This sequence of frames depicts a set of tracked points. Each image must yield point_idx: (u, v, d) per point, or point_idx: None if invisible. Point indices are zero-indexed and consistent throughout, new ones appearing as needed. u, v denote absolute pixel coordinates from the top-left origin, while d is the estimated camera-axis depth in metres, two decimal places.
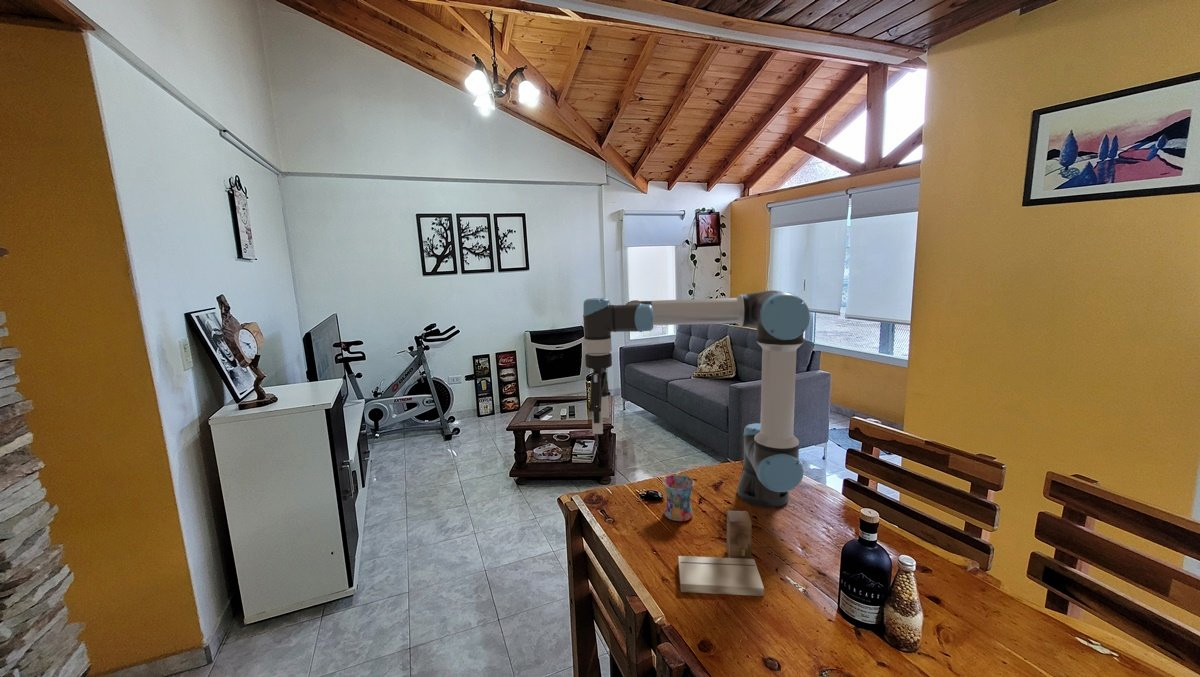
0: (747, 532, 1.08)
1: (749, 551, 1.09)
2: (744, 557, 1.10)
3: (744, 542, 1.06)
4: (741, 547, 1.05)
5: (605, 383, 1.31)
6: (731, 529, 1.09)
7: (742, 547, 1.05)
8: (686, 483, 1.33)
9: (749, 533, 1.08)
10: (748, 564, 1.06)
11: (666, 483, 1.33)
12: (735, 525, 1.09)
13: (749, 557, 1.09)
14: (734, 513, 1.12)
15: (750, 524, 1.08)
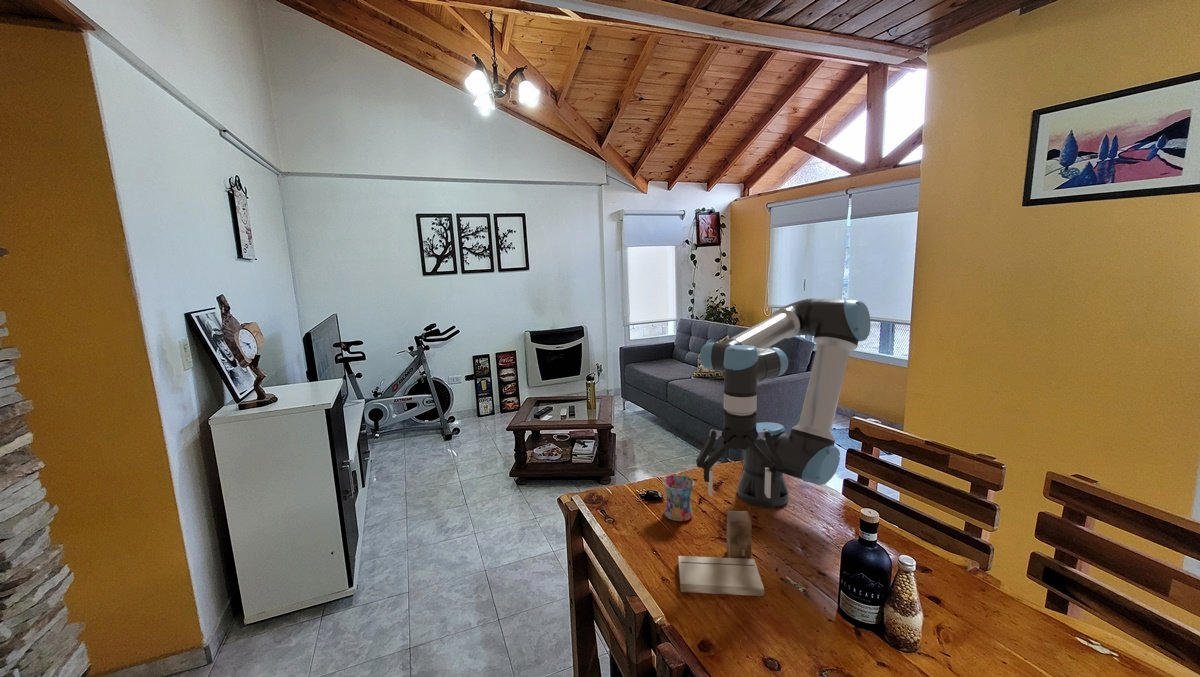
0: (747, 532, 1.08)
1: (749, 551, 1.09)
2: (744, 557, 1.10)
3: (744, 542, 1.06)
4: (741, 547, 1.05)
5: (754, 451, 1.06)
6: (731, 529, 1.09)
7: (742, 547, 1.05)
8: (686, 483, 1.33)
9: (749, 533, 1.08)
10: (748, 564, 1.06)
11: (666, 483, 1.33)
12: (735, 525, 1.09)
13: (749, 557, 1.09)
14: (734, 513, 1.12)
15: (750, 524, 1.08)
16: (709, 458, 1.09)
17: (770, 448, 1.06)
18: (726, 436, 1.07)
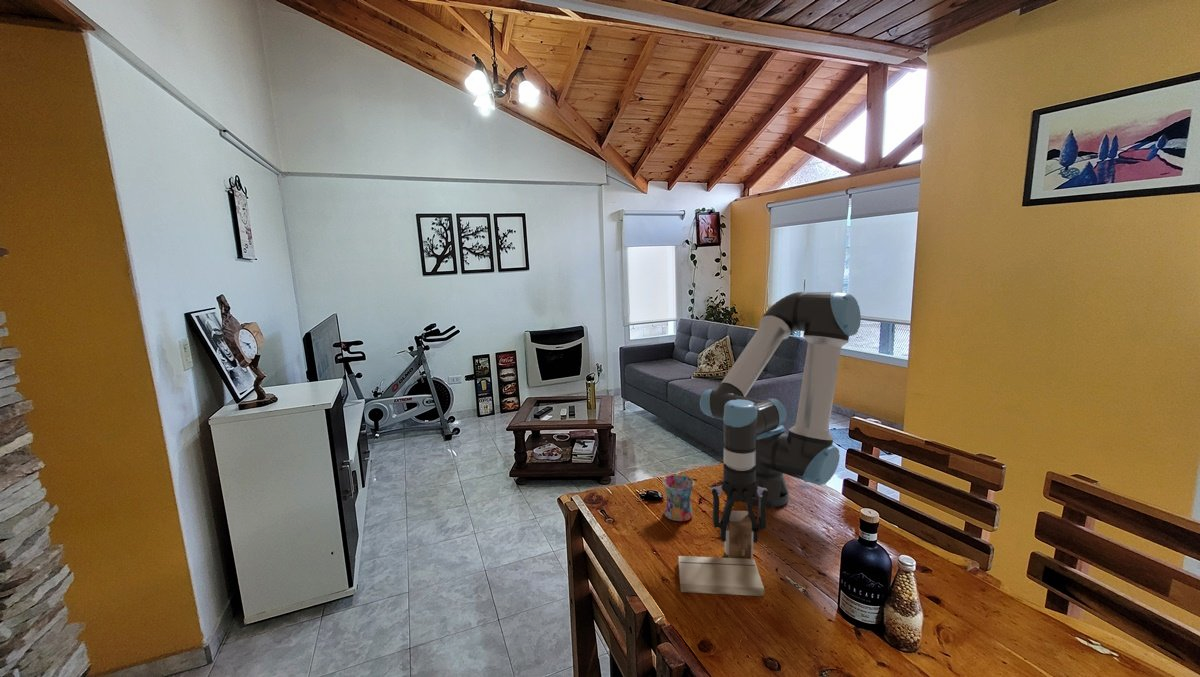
0: (747, 532, 1.08)
1: (749, 551, 1.09)
2: (744, 557, 1.09)
3: (744, 542, 1.06)
4: (741, 547, 1.05)
5: (747, 506, 1.09)
6: (731, 529, 1.09)
7: (742, 547, 1.05)
8: (686, 483, 1.33)
9: (749, 533, 1.08)
10: (748, 564, 1.06)
11: (666, 483, 1.33)
12: (735, 525, 1.09)
13: (749, 557, 1.09)
14: (734, 512, 1.12)
15: (750, 524, 1.08)
16: (722, 517, 1.11)
17: (762, 506, 1.08)
18: (727, 489, 1.09)
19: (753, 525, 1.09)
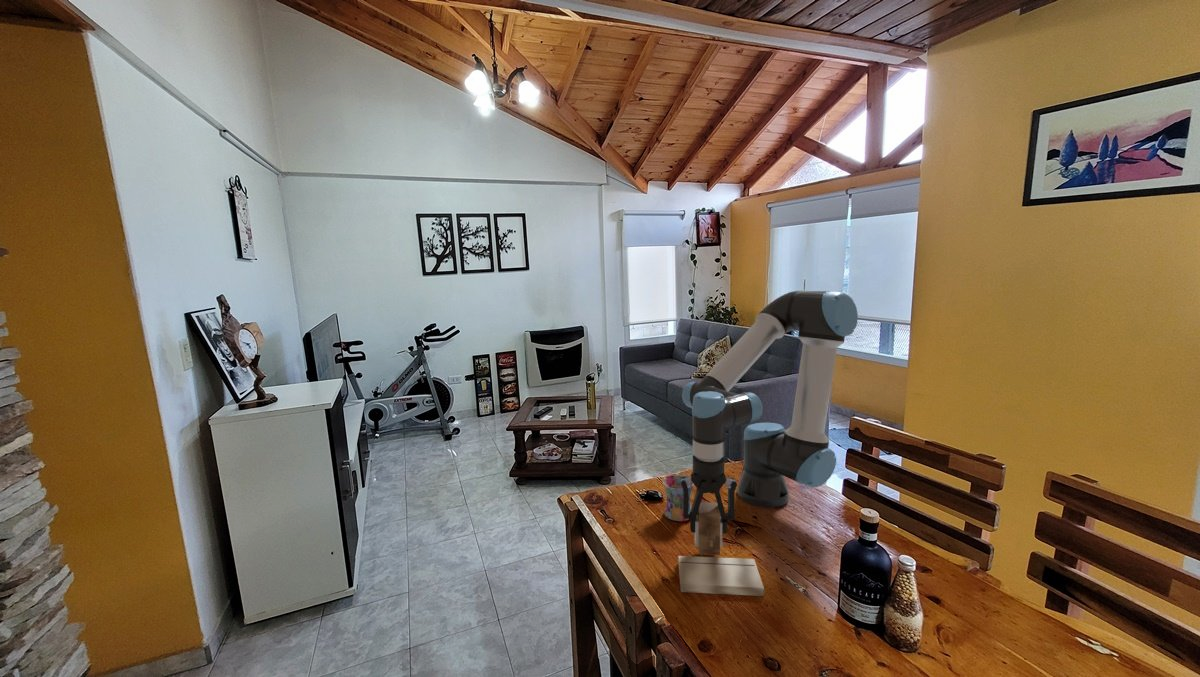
0: (715, 523, 1.09)
1: (718, 542, 1.10)
2: (713, 548, 1.10)
3: (712, 533, 1.06)
4: (709, 538, 1.05)
5: None
6: (700, 520, 1.09)
7: (710, 538, 1.05)
8: None
9: (718, 524, 1.09)
10: (748, 564, 1.06)
11: (666, 483, 1.33)
12: (704, 516, 1.09)
13: (718, 548, 1.10)
14: (704, 504, 1.13)
15: (719, 515, 1.09)
16: (692, 508, 1.12)
17: (730, 497, 1.09)
18: (696, 481, 1.09)
19: (722, 516, 1.10)
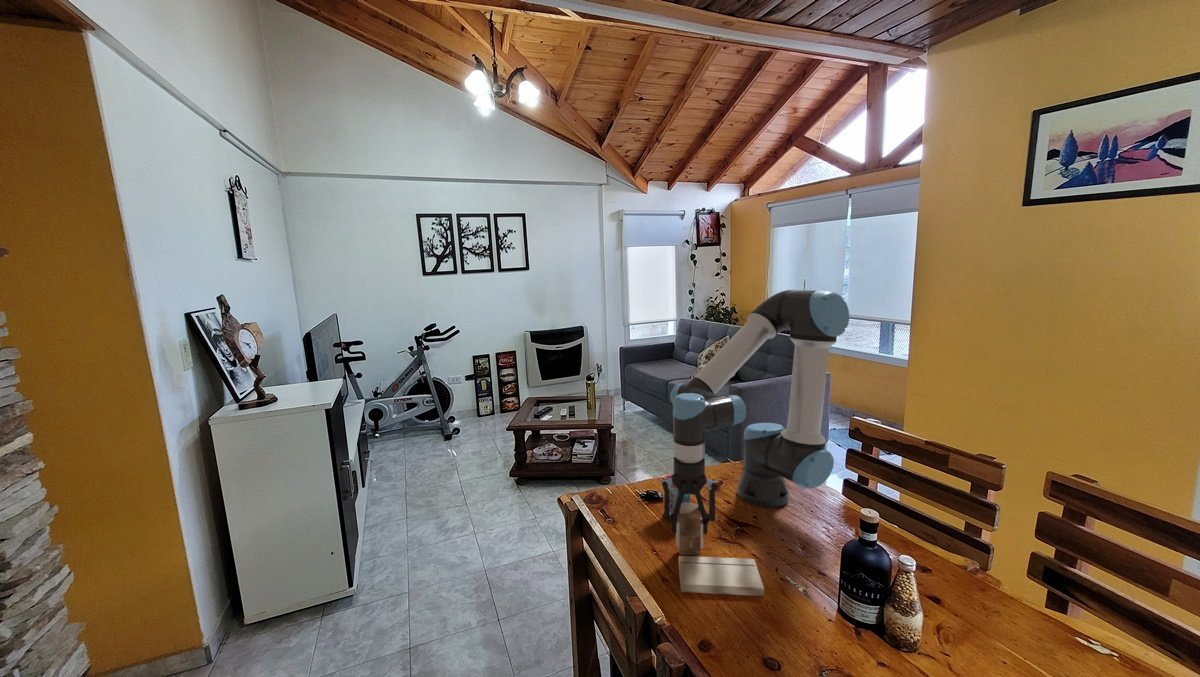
0: (696, 524, 1.10)
1: (698, 543, 1.10)
2: (694, 549, 1.11)
3: (692, 534, 1.07)
4: (689, 538, 1.06)
5: (696, 498, 1.10)
6: (681, 521, 1.10)
7: (690, 538, 1.06)
8: None
9: (698, 525, 1.10)
10: (748, 564, 1.06)
11: None
12: (684, 517, 1.10)
13: (699, 549, 1.11)
14: (685, 505, 1.13)
15: (699, 516, 1.09)
16: (673, 509, 1.13)
17: (711, 498, 1.10)
18: (676, 482, 1.10)
19: (703, 517, 1.11)
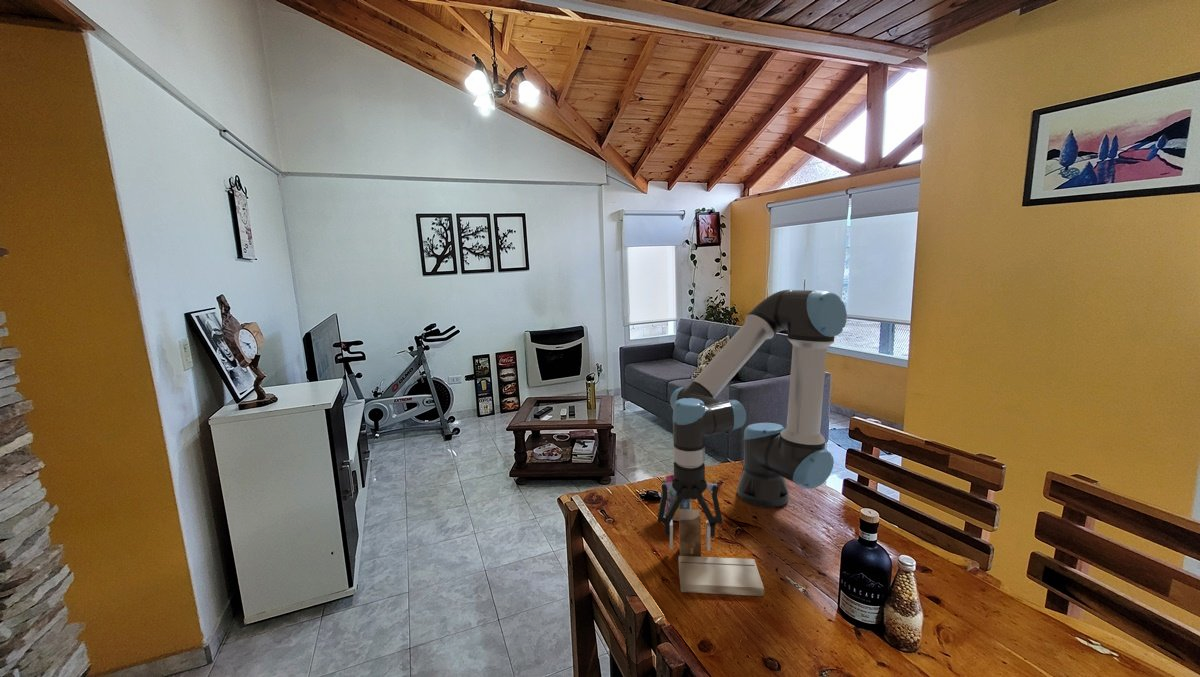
0: (696, 530, 1.10)
1: (699, 549, 1.11)
2: (694, 555, 1.11)
3: (692, 540, 1.07)
4: (689, 545, 1.06)
5: None
6: (681, 527, 1.10)
7: (690, 545, 1.06)
8: None
9: (699, 531, 1.10)
10: (748, 564, 1.06)
11: None
12: (685, 523, 1.10)
13: (699, 555, 1.11)
14: (686, 511, 1.14)
15: (699, 522, 1.10)
16: (668, 512, 1.13)
17: (714, 502, 1.10)
18: (676, 487, 1.10)
19: (709, 520, 1.11)
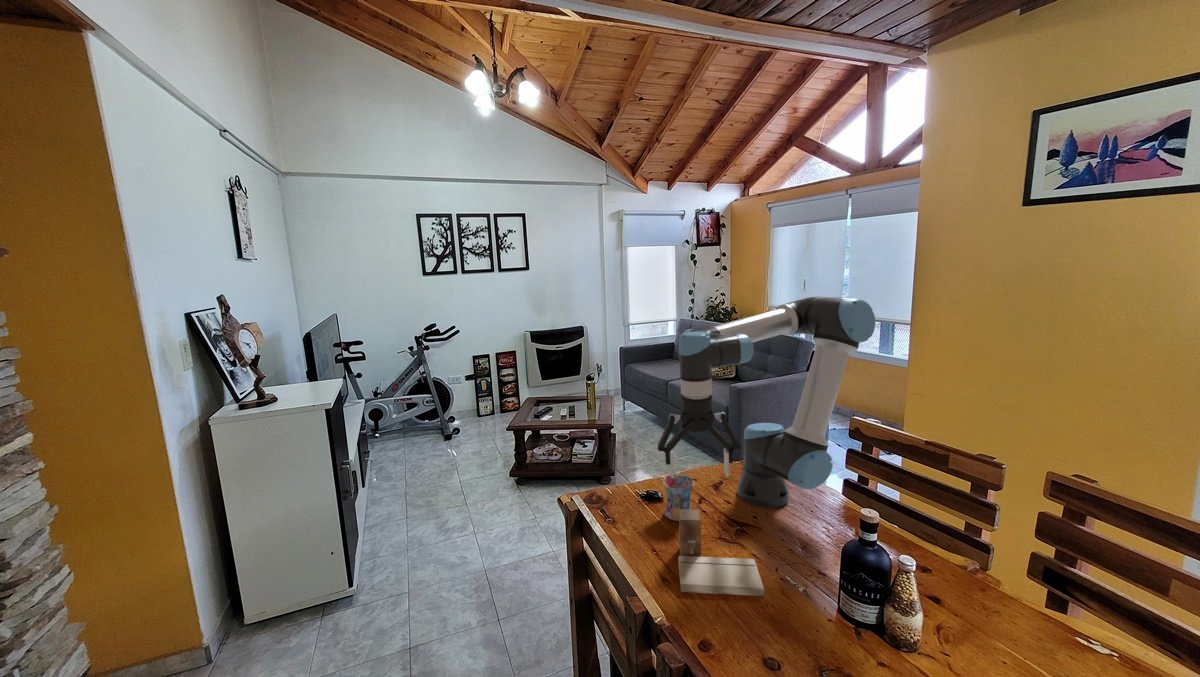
0: (696, 530, 1.10)
1: (699, 549, 1.11)
2: (694, 555, 1.11)
3: (692, 540, 1.07)
4: (689, 545, 1.06)
5: (711, 433, 1.11)
6: (681, 527, 1.10)
7: (690, 545, 1.06)
8: (686, 483, 1.33)
9: (699, 531, 1.10)
10: (748, 564, 1.06)
11: (666, 483, 1.33)
12: (685, 523, 1.10)
13: (699, 555, 1.11)
14: (686, 511, 1.14)
15: (699, 522, 1.10)
16: (670, 442, 1.14)
17: (726, 429, 1.10)
18: (684, 420, 1.11)
19: (727, 447, 1.11)
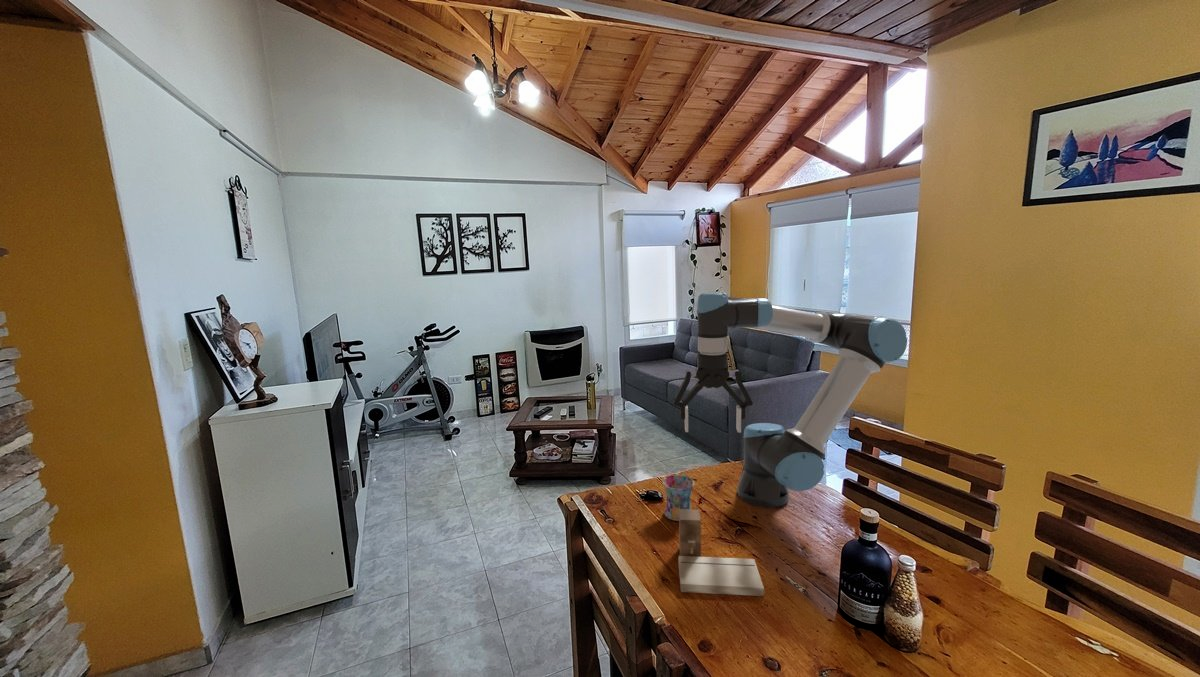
0: (696, 530, 1.10)
1: (699, 549, 1.11)
2: (694, 555, 1.11)
3: (692, 540, 1.07)
4: (689, 545, 1.06)
5: None
6: (681, 527, 1.10)
7: (690, 545, 1.06)
8: (686, 483, 1.33)
9: (699, 531, 1.10)
10: (748, 564, 1.06)
11: (666, 483, 1.33)
12: (685, 523, 1.10)
13: (699, 555, 1.11)
14: (686, 511, 1.14)
15: (699, 522, 1.10)
16: (685, 397, 1.20)
17: (740, 386, 1.16)
18: (700, 376, 1.17)
19: (739, 403, 1.17)
